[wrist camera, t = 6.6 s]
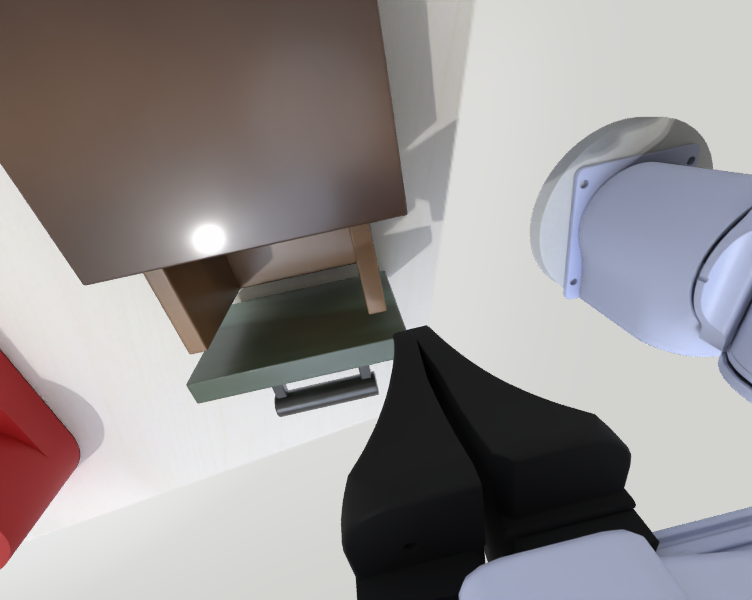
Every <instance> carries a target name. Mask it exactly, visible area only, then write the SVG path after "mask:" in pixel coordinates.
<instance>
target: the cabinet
mask: <svg viewBox="0 0 752 600" xmlns="http://www.w3.org/2000/svg"><path fill="white" fill-rule="evenodd" d="M0 164H1V165H2V166H3V168H4V169H5V171H6V172H7V174H8V175H9V177H10V178H11V180H12V181H13V183H14V184H15V185H16V187H17V188H18V190H19V191H20V193H21V194H22V196H23V197H24V199H25V200H26V202H27V203H28V205H29V206H30V207H31V209H32V210H33V212H34V213H35V215H36V216H37V218H38V219H39V221H40V222H41V224H42V225H43V226H44V228H45V229H46V231H47V232H48V234H49V235H50V237H51V238H52V240H53V241H54V243H55V244H56V246H57V247H58V248H59V250H60V251H61V253H62V254H63V256H64V257H65V259H66V260H67V262H68V263H69V265H70V266H71V268H72V269H73V270H74V272H75V273H76V275H77V276H78V278H79V279H80V281H81V282H82V284H83V285H90V284H95V283H99V282H104V281H108V280H113V279H118V278H122V277H127V276H131V275H136V274H140V273H145V272H149V271H154V270H158V269H163V268H168V267H172V266H177V265H181V264H186V263H190V262H195V261H199V260H204V259H209V258H213V257H218V256H222V255H227V254H231V253H236V252H240V251H245V250H249V249H254V248H259V247H263V246H268V245H272V244H277V243H281V242H286V241H290V240H295V239H300V238H304V237H309V236H313V235H318V234H322V233H327V232H331V231H336V230H340V229H345V228H350V227H354V226H359V225H363V224H368V223H372V222H377V221H381V220H386V219H391V218H395V217H400V216H404V215H407V205H406V198H405V191H404V184H403V177H402V170H401V163H400V156H399V149H398V142H397V135H396V128H395V121H394V114H393V107H392V100H391V93H390V85H389V78H388V71H387V64H386V57H385V50H384V43H383V36H382V29H381V22H380V15H379V8H378V1H377V0H0Z"/></svg>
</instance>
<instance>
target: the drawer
mask: <svg viewBox="0 0 752 600" xmlns="http://www.w3.org/2000/svg"><path fill="white" fill-rule="evenodd" d="M354 263H357V266H358V271H359V275H360V276H358V277H354V278H349V279H345V280H340V281H336V282H331V283H327V284H322V285H318V286H313V287H309V288H304V289H300V290H295V291H291V292H286V293H282V294H277V295H273V296H268V297H264V298H259V299H255V300H250V301H246V302H241V303H237V304H232V303H233V301H234V299H235V297H236V295H237V294H238V292H239V290H240V289H241V288H246V287H250V286H255V285H259V284H264V283H268V282H273V281H277V280H282V279H286V278H291V277H295V276H300V275H304V274H309V273H313V272H318V271H322V270H327V269H331V268H336V267H340V266H345V265H349V264H354ZM143 274H144V276H145V277H146V279H147V281H148V283H149V284H150V286H151V288H152V290H153V291H154V293H155V295H156V296H157V298H158V300H159V302H160V303H161V305H162V307H163V309H164V310H165V312H166V314H167V316H168V317H169V319H170V321H171V323H172V324H173V326H174V328H175V330H176V331H177V333H178V335H179V336H180V338H181V340H182V342H183V343H184V345H185V347H186V349H187V350H188V352H189V354H195V353H199V352H203V351H204V353H203V355H202V357H201V358H200V360H199V362H198V364H197V366H196V368H195V369H194V371H193V373H192V375H191V377H190V379H189V381H188V382H187V387H188V389H189V390H190V392H191V394H192V395H193V397H194V399H195V400H196V402H197V403H203V402H207V401H212V400H216V399H221V398H225V397H229V396H234V395H238V394H243V393H247V392H252V391H256V390H260V389H265V388H269V387H272V388H273V390H274V393H275V409H276V412H277V414H278V416H280V417H283V416H287V415H292V414H296V413H300V412H305V411H309V410H313V409H318V408H322V407H327V406H331V405H335V404H340V403H344V402H349V401H353V400H357V399H362V398H366V397H371V396H375V395H378V394H379V389H378V384H377V380H376V375H375V372H374V371H372V372H371V370H370V367H369V365H371V364H375V363H380V362H384V361H389V360H393V359H394V340H393V335H394V334H395V333H396V332H401V331H405V330H406V328H405V325H404V322H403V320H402V317H401V314H400V311H399V309H398V306H397V303H396V300H395V297H394V295H393V292H392V289H391V286H390V284H389V281H388V278H387V275H386V272H385V271H381V272H379V269H378V264H377V259H376V254H375V249H374V244H373V239H372V234H371V229H370V224H369V223H368V224H363V225H359V226H354V227H350V228H345V229H340V230H336V231H331V232H327V233H322V234H318V235H313V236H309V237H304V238H300V239H295V240H290V241H286V242H281V243H277V244H272V245H268V246H263V247H259V248H254V249H249V250H245V251H240V252H236V253H231V254H227V255H222V256H218V257H213V258H209V259H204V260H199V261H195V262H190V263H186V264H181V265H177V266H172V267H168V268H163V269H158V270H154V271H149V272H145V273H143ZM353 368H359V372H360V374H359V375H354V376H350V377H345V378H341V379H336V380H332V381H328V382H323V383H319V384H314V385H310V386H306V387H301V388H297V389H292V390H288V389H287V387H286V384H287V383H291V382H296V381H300V380H305V379H309V378H313V377H318V376H322V375H327V374H331V373H336V372H340V371H344V370H349V369H353Z"/></svg>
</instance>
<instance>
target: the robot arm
mask: <svg viewBox="0 0 752 600" xmlns="http://www.w3.org/2000/svg"><path fill="white" fill-rule="evenodd" d="M699 153H700V146H699V145H698V144H686V145H681V146H677V147H672V148H668V149H663V150H658V151H654V152H649V153H645V154H640V155H636V156H631V157H627V158H622V159H617V160H613V161H608V162H604V163H599V164H595V165H590V166H586V167H582V168H580V169H578V170H577V171H576V173H575V176H574V184H573V195H572V205H571V216H570V226H569V237H568V247H567V258H566V269H565V279H564V290H563V295H564V297H566V298H567V299H575V298H581V299H582V300H584V301H585V302H586V303H588V304H589V305H591V306H592V307H593V308H595V309H596V310H597V311H599V312H600V313H602V314H603V315H604V316H606V317H607V318H609V319H610V320H611V321H613V322H614V323H616V324H617V325H618V326H620V327H621V328H623V329H624V330H625V331H627V332H628V333H630V334H631V335H633V336H634V337H635V338H637V339H638V340H640V341H642V342H644V343H646V344H648V345H650V346H653V347H655V348H658V349H661V350H664V351H667V352H671V353H675V354H679V355H685V356H695V357H713V356H719V360H718V367H719V370H720V373H721V374H722V376H723V378H724V379H725V380H726V381H727V383H728V384H730V386H731V387H732V388H733V389H734V390H735V391H737V392H738V393H739V394H740V395H741V396H742V397H744V398H745V399H746V400H748V401H749V402H750V403H752V175H750V174H742V173H734V172H727V171H719V170H712V169H705V168H697V167H696V165H697V161H698V157H699ZM688 159H689V161H688ZM687 161H688V162H687ZM582 181H584V185H583V186H582V187H581V186H580V185H581V183H582ZM573 279H574V280H573ZM571 280H573V282H571ZM570 282H571V283H570ZM393 340H394V360H393V368H392V374H391V379H390V384H389V388H388V392H387V396H386V399H385V402H384V405H383V408H382V411H381V413H380V416H379V419H378V421H377V424H376V426H375V428H374V430H373V432H372V435H371V436H370V439H369V441H368V443H367V445H366V447H365V449H364V450H363V452H362V454H361V456H360V457H359V459H358V461H357V462H356V464H355V465H354V467H353V469H352V470H351V472H350V474H349V475H348V478H347V483H346V487H345V492H344V498H343V505H342V516H341V532H342V545H343V551H344V553H345V555H346V557H347V559H348V561H349V564H350V566H351V568H352V570H353V572H354V574H355V576H356V588H357V600H752V507H749V508H745V509H741V510H737V511H734V512H729V513H725V514H722V515H718V516H714V517H710V518H706V519H702V520H699V521H694V522H690V523H686V524H682V525H679V526H675V527H671V528H667V529H663V530H659V531H655V532H651V530H650V529H649V528H648V527H647V525H646V524H645V523H644V521H643V520H642V519H641V518H640V516H639V515H638V514H637V513H636V511H635V510H634V509H633V508H635V506H636V504H635V502H634V500H633V498H632V497H631V496H630V495H629V494H628V492H627V491H626V490H625V489H624V486H625V483H626V479H627V475H628V471H629V468H630V462H631V453H630V451H629V449H628V447H627V446H626V445H625V444H624V443H623V442H622V440H620V438H619V437H618V436H617V435H616V434H615V433H614V432H613V431H612V430H611V429H610V428H609V427H608V426H607V425H606V424H605V423H604V422H603V421H602V420H600V419H599V418H598V417H597V416H596V415H595V414H592V413H588V412H585V411H581V410H578V409H575V408H571V407H567V406H564V405H561V404H558V403H555V402H552V401H549V400H547V399H544V398H541V397H538V396H536V395H533V394H531V393H528V392H526V391H524V390H522V389H519V388H517V387H515V386H513V385H510V384H509V383H506V382H504V381H503V380H501V379H499V378H497V377H495V376H493V375H491V374H490V373H488V372H487V371H485V370H483V369H482V368H480V367H479V366H477V365H475V364H474V363H473V362H471V361H470V360H468V359H467V358H465V357H464V356H462V355H461V354H460V353H459V352H457V351H456V350H455V349H453V348H452V347H451V346H450V345H449V344H447V343H446V342H445V341H444V340H443V339H442V338H440V337H439V336H438V335H437V334H436V333H435V332H434V331H433V330H432V329H431V328H430V327H428V326H427V325H426V326H422V327H418V328H413V329H409V330H405V331H401V332H396V333H395V334H394V335H393ZM484 551H485V552H484ZM485 554H486V558H487V561H488V563H486V564H485Z"/></svg>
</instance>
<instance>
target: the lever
mask: <svg viewBox="0 0 752 600" xmlns="http://www.w3.org/2000/svg"><path fill="white" fill-rule="evenodd" d="M79 459H80V451H79V447H78V444H77V442H76V441H75V439H74V437H73V436H72V435H71V434H70V432H69V431H68V430H67V429H66V428H65V426H64V425H63V424H62V423H61V422H60V421H59V419H58V418H57V417H56V416H55V415H54V413H53V412H52V411H51V410H50V409H49V407H48V406H47V405H46V404H45V403H44V402H43V400H42V399H41V398H40V397H39V396H38V394H37V393H36V392H35V391H34V390H33V388H32V387H31V386H30V385H29V384H28V383H27V381H26V380H25V379H24V378H23V377H22V375H21V374H20V373H19V372H18V371H17V369H16V368H15V367H14V366H13V365H12V364H11V362H10V361H9V360H8V359H7V358H6V356H5V355H4V354H3V353H2V352H1V350H0V569H1V568H2V567H4V565H5V564H6V563H7V562H8V560H9V559H10V558H11V556H12V555H13V554H14V552H15V551H16V550H17V548H18V547H19V545H20V544H21V543H22V541H23V540H24V539H25V537H26V536H27V534H28V533H29V532H30V530H31V529H32V528H33V526H34V525H35V523H36V522H37V521H38V519H39V518H40V517H41V515H42V514H43V512H44V511H45V510H46V508H47V507H48V506H49V504H50V503H51V501H52V500H53V499H54V497H55V496H56V495H57V493H58V492H59V490H60V489H61V488H62V486H63V485H64V484H65V482H66V481H67V479H68V478H69V477H70V475H71V474H72V473H73V471H74V470H75V468H76V467H77V465H78V463H79Z"/></svg>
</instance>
